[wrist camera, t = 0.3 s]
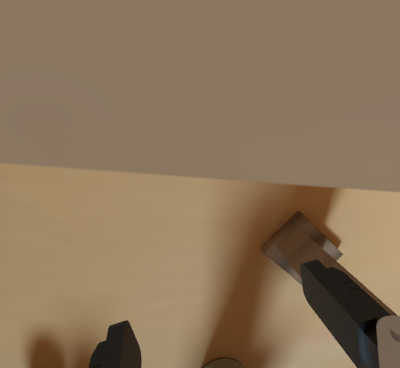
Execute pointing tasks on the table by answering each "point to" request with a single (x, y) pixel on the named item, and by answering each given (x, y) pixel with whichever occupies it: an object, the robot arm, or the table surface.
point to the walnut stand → (306, 250)
